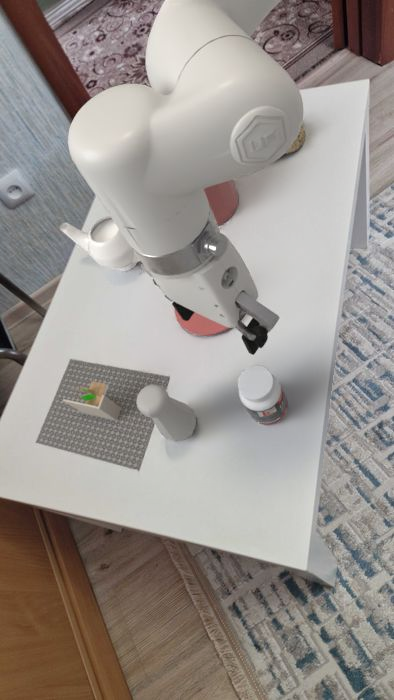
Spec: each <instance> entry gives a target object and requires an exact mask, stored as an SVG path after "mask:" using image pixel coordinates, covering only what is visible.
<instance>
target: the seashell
mask: <svg viewBox="0 0 394 700" xmlns="http://www.w3.org/2000/svg"><path fill="white" fill-rule="evenodd" d="M306 134H307V133H306V129H305V126H304V125H303V123H302V125H301V129H300V131H299V134H298V136H297V138H296V140H295V141H294V143H293V144H292V145H291V147H290V148H289V149H288V150H287V151H286V152H285V153H284V154H286V155H287V154H291V153H295V152H296V151H297V150H299V149H300V148H301V147H302V145H303V144H304V142H305V140H306Z"/></svg>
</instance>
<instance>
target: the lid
mask: <svg viewBox="0 0 394 700" xmlns="http://www.w3.org/2000/svg"><path fill="white" fill-rule="evenodd" d="M173 308H174V307H173ZM237 308H238V307H237ZM174 315H175V318H176V320H177V322H178V323H179V325H180V326H181V328H182V329H184V330H185V331H186V332H188V333H190V334H192V335H195V336H200V337H201V336H202V337H208V336H215V335H218V334H221V333H223V332H225V331H227V330H229V329H230V328H229V327H226V326H223V325H221V324H219V323H217V322H214V321H212V320H210V319H208V318H206V317H204V316H202V315H200V314H198V313H196V312H194V314H193V315H192V317H191V318H190V319H189V320H188V321H185V320H183V319H182V318H181V317H180V315H179V314H178V312H177V311H176V309H175V308H174Z"/></svg>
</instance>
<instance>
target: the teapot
mask: <svg viewBox="0 0 394 700" xmlns="http://www.w3.org/2000/svg"><path fill="white" fill-rule="evenodd" d="M59 229H60V231H61V232H62V233H63V234H65V236H67V237H68V238H69V239H71V241H73V242H74V243H75V244H76V245H78V246H79V247H81V248H82V249H83V250H85V251H86V252H87V253H88V254H89V255H90V257H91V258H92V260H94V261H95V262H96V263H97V264H98V265H99V266H102V267H105V268H108V269H113V270H114V269H115V270H118V271H120V272H128V271H130V270H133V269H134V268H135V267H136V266H137V264H138V263H139V262H141V261H140V259H139V258H138V256H137V255H136V254H135V252H134V251H133V249H132V248H131V246H130V245H129V243H128V242H127V240H126V239H125V237H124V236H123V234H122V233H121V231H120V230H119V228H118V227H117V225H116V224H115V222H114V221H113V220H112V218H111V217H110V215H107V216H103V217H101V218H99V219H98V220H96V222H94V223H93V225H92V226H91V227H90V229H89V232H85V231H83V230H81V229H79V228H77V227H75V226H74V225H72V224H70V223H68V222H62V223H61V224H60V226H59Z"/></svg>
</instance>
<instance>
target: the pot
mask: <svg viewBox="0 0 394 700" xmlns="http://www.w3.org/2000/svg"><path fill="white" fill-rule="evenodd" d="M234 180H235V179H233V180H230V181H226V182H223V183H220V184H217V185H213V186H210V187H207V188H204V192H205V194H206V197H207V199H208V202H209V204H210V207H211V209H212V212H213V214H214V217H215V219H216V222H217V224H218V227H220V225H223V224H224V223H225V222H227V221H228V220H229V219H230V218H231V217H232V216H233V215H234V214H235V212H236V211H237V208H238V205H239V201H240V199H239V197H240V196H239V193H238V190H237V187H236V183H235V181H234Z"/></svg>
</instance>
